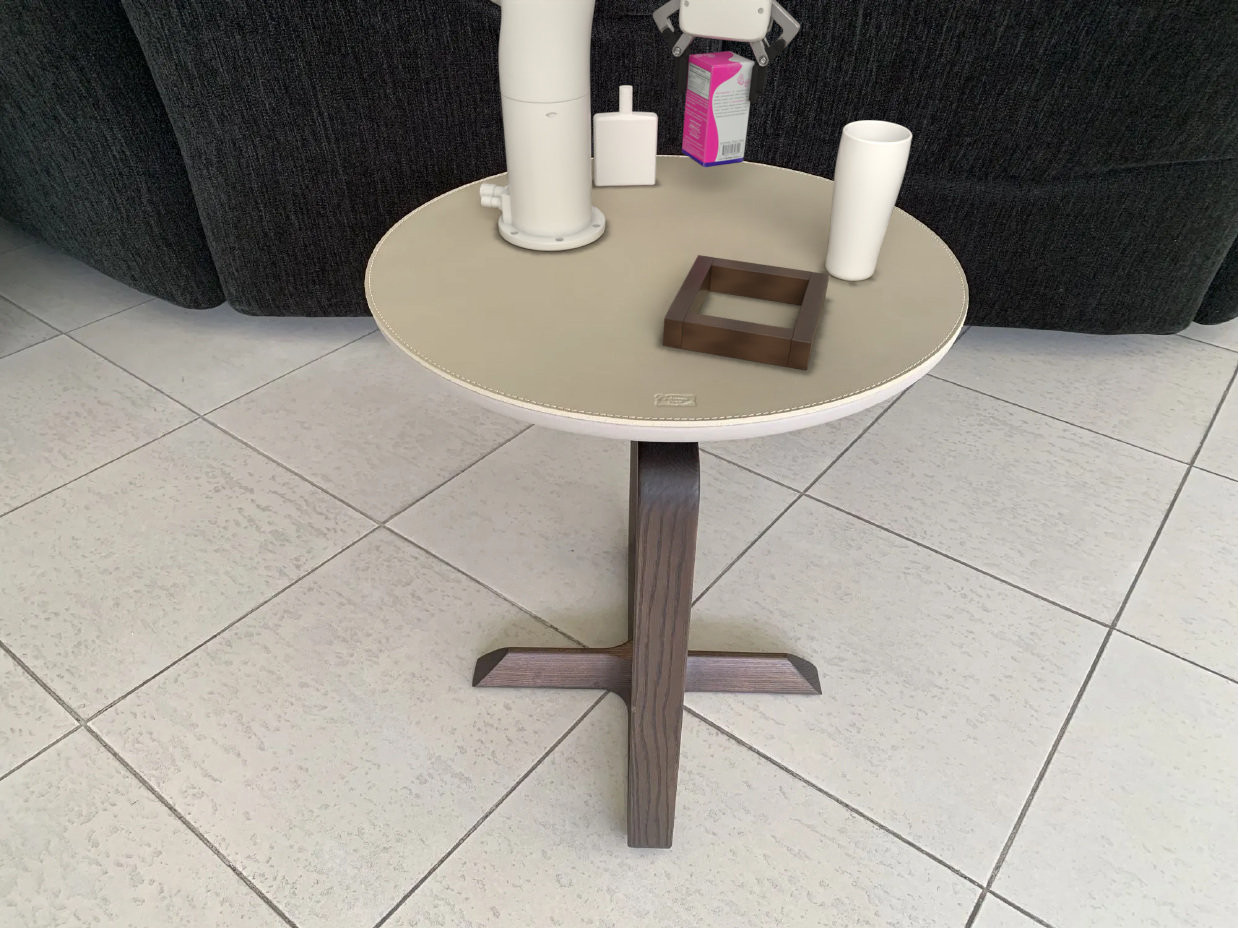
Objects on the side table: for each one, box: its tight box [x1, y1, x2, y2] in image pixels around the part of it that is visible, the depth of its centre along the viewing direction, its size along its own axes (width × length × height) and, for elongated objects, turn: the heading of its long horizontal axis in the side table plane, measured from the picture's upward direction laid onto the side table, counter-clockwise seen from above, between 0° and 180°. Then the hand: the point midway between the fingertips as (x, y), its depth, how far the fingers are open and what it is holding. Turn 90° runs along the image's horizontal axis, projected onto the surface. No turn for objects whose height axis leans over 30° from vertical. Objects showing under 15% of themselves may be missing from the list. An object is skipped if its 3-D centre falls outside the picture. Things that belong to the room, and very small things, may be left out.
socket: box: [662, 254, 830, 371], centre depth 81 cm, size 14×14×3 cm
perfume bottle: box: [592, 84, 659, 187], centre depth 105 cm, size 8×2×12 cm, turn 95°
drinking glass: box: [824, 119, 913, 282], centre depth 86 cm, size 7×7×15 cm
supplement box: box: [681, 50, 756, 168], centre depth 99 cm, size 6×6×12 cm
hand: (718, 94), depth 98 cm, fingers closed on supplement box, 8 cm apart
